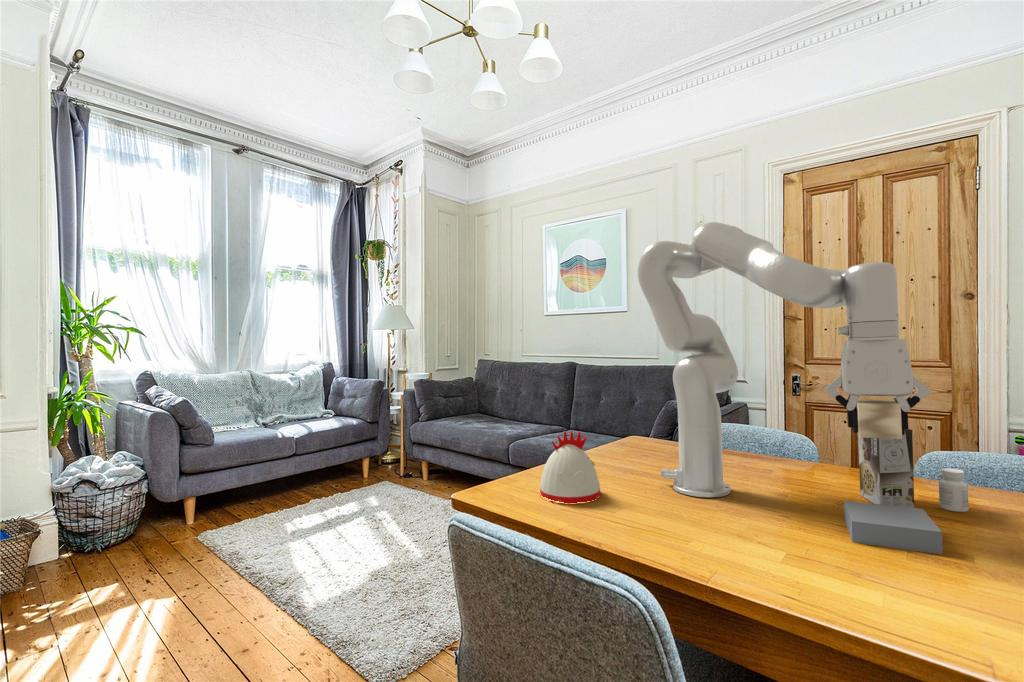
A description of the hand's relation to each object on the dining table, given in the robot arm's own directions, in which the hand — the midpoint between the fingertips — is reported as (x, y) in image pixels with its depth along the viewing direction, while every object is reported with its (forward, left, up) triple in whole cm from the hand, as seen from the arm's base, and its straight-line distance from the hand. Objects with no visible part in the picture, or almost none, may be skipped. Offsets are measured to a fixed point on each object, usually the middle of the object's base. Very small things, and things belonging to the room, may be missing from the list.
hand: (877, 431), depth 89 cm
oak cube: (0, 0, -1) cm, 1 cm away
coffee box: (+4, +20, -18) cm, 27 cm away
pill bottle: (+15, +20, -18) cm, 31 cm away
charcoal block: (+1, -1, -18) cm, 19 cm away
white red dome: (-59, -1, -18) cm, 62 cm away
